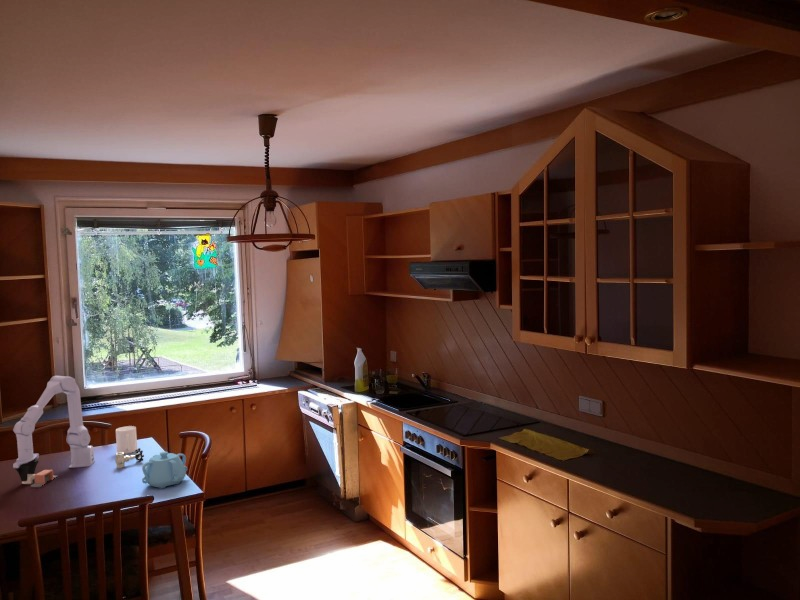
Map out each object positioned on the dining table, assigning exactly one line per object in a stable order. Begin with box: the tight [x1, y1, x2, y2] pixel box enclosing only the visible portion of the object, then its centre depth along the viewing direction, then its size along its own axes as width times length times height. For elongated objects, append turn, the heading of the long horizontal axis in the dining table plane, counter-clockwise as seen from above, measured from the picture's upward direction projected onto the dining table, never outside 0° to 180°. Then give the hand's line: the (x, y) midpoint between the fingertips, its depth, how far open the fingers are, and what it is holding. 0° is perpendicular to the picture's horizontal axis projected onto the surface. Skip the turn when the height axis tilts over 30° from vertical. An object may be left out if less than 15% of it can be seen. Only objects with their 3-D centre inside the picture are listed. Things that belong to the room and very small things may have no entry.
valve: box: [114, 447, 145, 469], centre depth 309 cm, size 7×7×12 cm
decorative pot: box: [141, 451, 188, 489], centre depth 280 cm, size 16×16×14 cm
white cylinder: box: [115, 425, 138, 455], centre depth 330 cm, size 10×12×12 cm
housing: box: [30, 469, 58, 488], centre depth 289 cm, size 4×13×4 cm, turn 175°
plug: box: [21, 473, 50, 485], centre depth 289 cm, size 10×4×3 cm, turn 85°
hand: (27, 479), depth 289 cm, fingers closed on plug, 4 cm apart
